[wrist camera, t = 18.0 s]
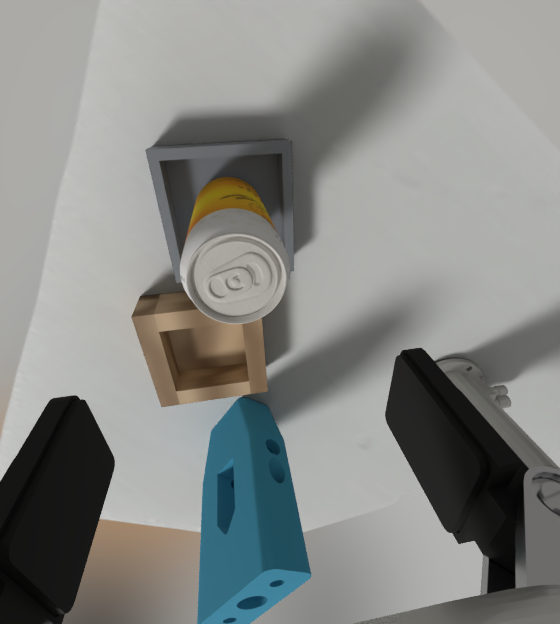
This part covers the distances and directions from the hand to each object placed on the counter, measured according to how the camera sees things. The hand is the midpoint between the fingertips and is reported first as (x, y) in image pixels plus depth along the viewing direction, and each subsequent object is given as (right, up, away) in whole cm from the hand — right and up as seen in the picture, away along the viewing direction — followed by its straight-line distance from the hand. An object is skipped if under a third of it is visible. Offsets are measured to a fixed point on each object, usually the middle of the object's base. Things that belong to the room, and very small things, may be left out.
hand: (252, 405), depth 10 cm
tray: (-4, +12, +20) cm, 24 cm away
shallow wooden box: (-7, 0, +27) cm, 28 cm away
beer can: (-4, +12, +20) cm, 24 cm away
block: (-5, -12, +35) cm, 38 cm away
